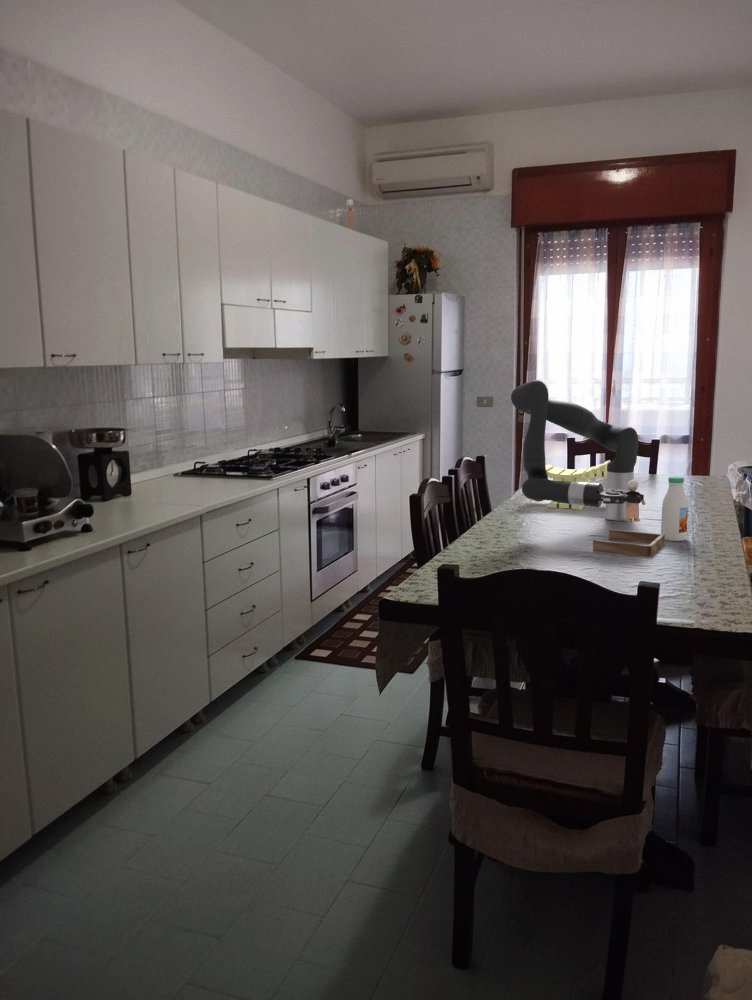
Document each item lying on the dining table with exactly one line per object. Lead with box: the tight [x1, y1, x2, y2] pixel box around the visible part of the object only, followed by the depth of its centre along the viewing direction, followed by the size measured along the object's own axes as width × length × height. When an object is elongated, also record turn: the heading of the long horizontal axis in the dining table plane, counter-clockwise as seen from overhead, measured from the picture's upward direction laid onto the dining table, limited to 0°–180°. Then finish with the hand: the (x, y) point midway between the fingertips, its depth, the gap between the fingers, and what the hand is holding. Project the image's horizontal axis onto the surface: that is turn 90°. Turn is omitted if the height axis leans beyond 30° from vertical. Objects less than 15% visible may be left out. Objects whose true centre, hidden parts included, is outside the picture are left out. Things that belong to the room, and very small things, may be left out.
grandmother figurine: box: [624, 479, 646, 523], centre depth 242 cm, size 8×4×13 cm, turn 88°
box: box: [592, 529, 666, 557], centre depth 244 cm, size 18×17×3 cm
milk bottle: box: [660, 475, 689, 542], centre depth 252 cm, size 8×8×20 cm
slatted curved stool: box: [545, 459, 611, 510], centre depth 313 cm, size 30×16×18 cm, turn 66°
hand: (641, 498), depth 240 cm, fingers closed on grandmother figurine, 3 cm apart
